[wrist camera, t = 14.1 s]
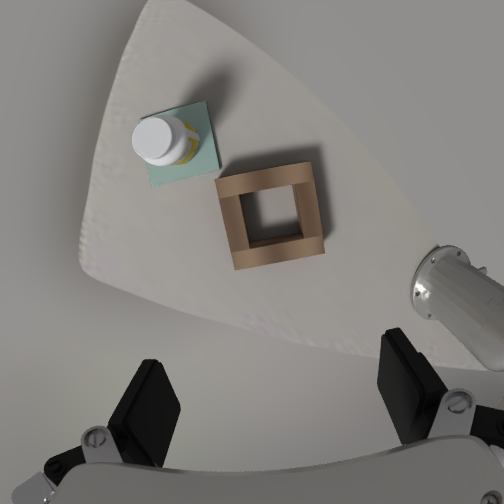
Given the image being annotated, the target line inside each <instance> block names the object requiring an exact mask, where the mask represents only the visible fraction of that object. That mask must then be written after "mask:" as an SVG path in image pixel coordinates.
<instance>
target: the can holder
mask: <svg viewBox="0 0 504 504" xmlns="http://www.w3.org/2000/svg"><path fill="white" fill-rule="evenodd" d="M215 183H216V188H217V193H218V197H219V202H220V206H221V211H222V215H223V220H224V224H225V229H226V233H227V237H228V242H229V246H230V250H231V255H232V259H233V263H234V268H235V270H240V269H245V268H251V267H256V266H261V265H266V264H272V263H277V262H282V261H288V260H293V259H298V258H303V257H308V256H313V255H318V254H324V253H325V249H324V242H323V234H322V227H321V220H320V213H319V207H318V200H317V194H316V188H315V182H314V176H313V171H312V165H311V161H309V162H301V163H295V164H289V165H283V166H277V167H272V168H266V169H261V170H256V171H251V172H246V173H241V174H236V175H231V176H227V177H222V178H218V179H215ZM286 185H292V187H293V193H294V199H295V204H296V210H297V216H298V222H299V228H300V233H297V234H292V235H287V236H281V237H276V238H271V239H266V240H260V241H255V242H250V240H249V235H248V230H247V225H246V221H245V216H244V211H243V206H242V202H241V197H240V194H244V193H249V192H254V191H259V190H265V189H270V188H275V187H281V186H286Z"/></svg>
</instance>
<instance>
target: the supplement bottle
mask: <svg viewBox="0 0 504 504" xmlns="http://www.w3.org/2000/svg"><path fill="white" fill-rule="evenodd" d="M132 143H133V147H134V150H135V151H136V153H137V154H138V155H139V156H141V157H142V158H143V159H144V160H145V161H147V162H148V163H150V164H152V165H156V166H174V165H182V164H185V163H188V162H189V161H191V160H192V159H193V158H194V157H195V156H196V154H197V152H198V150H199V147H200V138H199V135H198V133H197V131H196V130H195V128H194V127H192V126H191V125H189V124H188V123H186V122H184V121H182V120H180V119H179V118H177V117H174V116H171V115H166V114H164V115H158V116H155V117H150V118H147V119H145V120H143V121H142V122H140V123H139V124H138V125H137V127H136V128H135V130H134V133H133V137H132Z"/></svg>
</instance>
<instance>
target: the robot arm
mask: <svg viewBox="0 0 504 504" xmlns="http://www.w3.org/2000/svg"><path fill="white" fill-rule="evenodd" d="M486 274H487V269H486V268H485V267H482V268H479V269H477V268H475V267H473V266H471V264H470V261H469V258H468V256H467V255H466V253H465V252H464V251H462V250H461V249H459V248H458V247H455V246H448V245H447V246H442V247H440V248H438V249H436V250H434V251H433V252H431V253H430V254H429V255H428V256H427V257H426V258H425V259H424V260H423V262H422V263H421V265H420V266H419V268H418V270H417V272H416V274H415V276H414V279H413V283H412V287H411V301H412V304H413V307H414V309H415V311H416V312H417V313H418V314H419V315H420V316H421V317H423V318H424V319H427V320H439V321H440V322H441V323H442V324H443V325H444V326H445V327H446V328H447V329H448V330H449V331H450V332H451V333H452V334H453V335H454V336H455V337H456V338H457V339H458V340H459V341H460V342H461V343H462V344H463V345H464V346H465V347H466V348H467V349H468V350H469V351H470V353H471V354H472V355H473V356H474V357H475V358H476V359H477V360H478V361H479V362H480V363H481V364H482V365H483V366H484V367H485V368H487V369H488V370H491V371H494V372H503V371H504V286H502V285H501V284H499V283H498V282H496V281H495V280H493V279H491V278H490V277H488V276H486ZM377 385H378V389H379V391H380V394H381V395H382V398H383V400H384V403H385V405H386V407H387V409H388V412H389V415H390V417H391V419H392V422H393V424H394V427H395V429H396V431H397V434H398V436H399V439H400V441H401V444H402V445H403V446H399V447H396V448H392V449H389V450H385V451H381V452H378V453H374V454H370V455H366V456H361V457H357V458H352V459H348V460H343V461H338V462H332V463H327V464H321V465H314V466H307V467H299V468H290V469H280V470H267V471H244V472H213V471H192V470H179V469H169V468H162V467H163V464H164V461H165V458H166V455H167V452H168V448H169V445H170V442H171V439H172V436H173V433H174V430H175V426H176V423H177V420H178V417H179V414H180V411H181V408H180V403H179V401H178V399H177V397H176V395H175V393H174V390H173V388H172V386H171V383H170V381H169V379H168V376H167V374H166V372H165V369H164V367H163V365H162V363H161V362H158V360H156V359H145V360H143V361H142V363H141V365H140V367H139V368H138V370H137V372H136V374H135V375H134V377H133V379H132V380H131V382H130V384H129V386H128V387H127V389H126V391H125V393H124V395H123V397H122V398H121V400H120V402H119V404H118V405H117V407H116V409H115V411H114V412H113V414H112V416H111V418H110V420H109V422H108V426H107V428H106V427H104V426H94V427H91V428H90V429H88V430H87V431H85V432H84V434H83V435H82V437H81V446H78V447H76V448H73V449H71V450H68V451H66V452H64V453H61V454H59V455H56V456H54V457H52V458H50V459H49V460H48V461H47V462H46V464H45V465H44V473H41V472H38V473H37V474H36V475H34V476H33V477H31V478H30V479H28V480H27V481H26V482H24V483H23V484H21V485H20V486H18V487H17V488H16V489H15V490H14V491H13V493H12V501H13V503H14V504H504V395H503V396H502V398H501V399H500V400H499V402H498V403H497V405H496V406H495V407H494V408H490V407H485V406H479V405H476V399H475V396H474V395H473V394H472V393H471V392H470V391H468V390H465V389H459V388H458V389H452V390H450V391H448V389H447V388H446V386H445V385H444V383H443V382H442V380H441V379H440V377H439V376H438V374H437V373H436V372H435V371H434V369H433V367H432V366H431V364H430V363H429V362H428V360H427V359H426V358H425V356H424V355H423V354H422V353H421V352H419V353H418V352H417V351H416V349H415V348H414V347H413V345H412V344H411V342H410V341H409V340H408V338H407V337H406V336H405V334H404V333H403V332H402V330H401V329H400V328H399V327H397V328H393V329H389V330H386V332H385V334H383V335H382V337H381V349H380V362H379V370H378V379H377ZM405 444H406V445H405Z"/></svg>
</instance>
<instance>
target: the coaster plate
mask: <svg viewBox="0 0 504 504" xmlns="http://www.w3.org/2000/svg"><path fill="white" fill-rule="evenodd" d="M164 114H166V115H171V116H174V117H177V118H179V119H180V120H182V121H184V122H186V123H188V124H189V125H191V126H192V127H194V128H195V130H196V131H197V133H198V135H199V138H200V147H199V150H198V152H197V154H196V156H195V157H194V158H193V159H192V160H191V161H189V162H188V163H185V164H182V165H174V166H156V165H152V164H150V163H148V162H147V161H146V166H147V170H148V175H149V179H150V184H151V187H153V186H157V185H160V184H164V183H168V182H171V181H175V180H179V179H183V178H187V177H191V176H195V175H199V174H203V173H208V172H212V171H216V170H220V167H219V162H218V157H217V152H216V148H215V143H214V138H213V133H212V128H211V124H210V119H209V114H208V109H207V104H206V101H202V102H198V103H194V104H190V105H186V106H183V107H179V108H176V109H172V110H169V111H166V112H163V113H159V114H156V115H153V116H150V117H155V116H158V115H164ZM150 117H147V118H150ZM147 118H144V119H141V120H138V124H139V123H140V122H142V121H143V120H145V119H147Z"/></svg>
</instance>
